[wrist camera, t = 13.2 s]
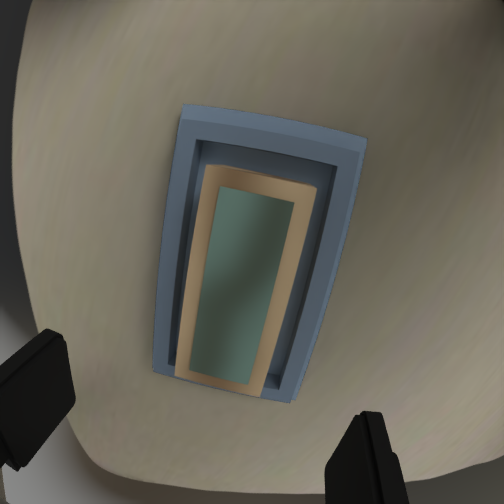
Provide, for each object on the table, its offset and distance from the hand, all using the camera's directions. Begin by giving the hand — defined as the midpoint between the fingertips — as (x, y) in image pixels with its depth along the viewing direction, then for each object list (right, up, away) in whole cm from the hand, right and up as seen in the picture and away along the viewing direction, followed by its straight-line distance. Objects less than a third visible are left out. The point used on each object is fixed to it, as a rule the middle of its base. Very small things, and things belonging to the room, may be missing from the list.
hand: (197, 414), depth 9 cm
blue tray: (+1, +4, +16) cm, 16 cm away
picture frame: (+1, +4, +15) cm, 15 cm away
